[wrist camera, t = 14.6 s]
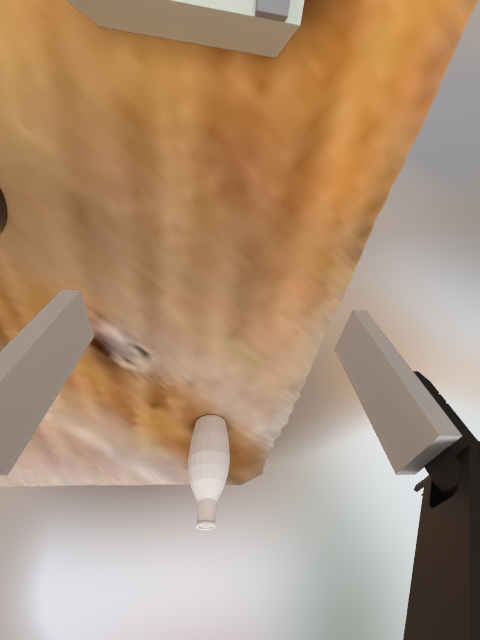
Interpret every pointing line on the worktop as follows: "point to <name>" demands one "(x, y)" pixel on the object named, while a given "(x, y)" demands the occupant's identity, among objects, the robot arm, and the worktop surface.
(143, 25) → the frame
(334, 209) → the worktop surface
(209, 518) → the bottle
